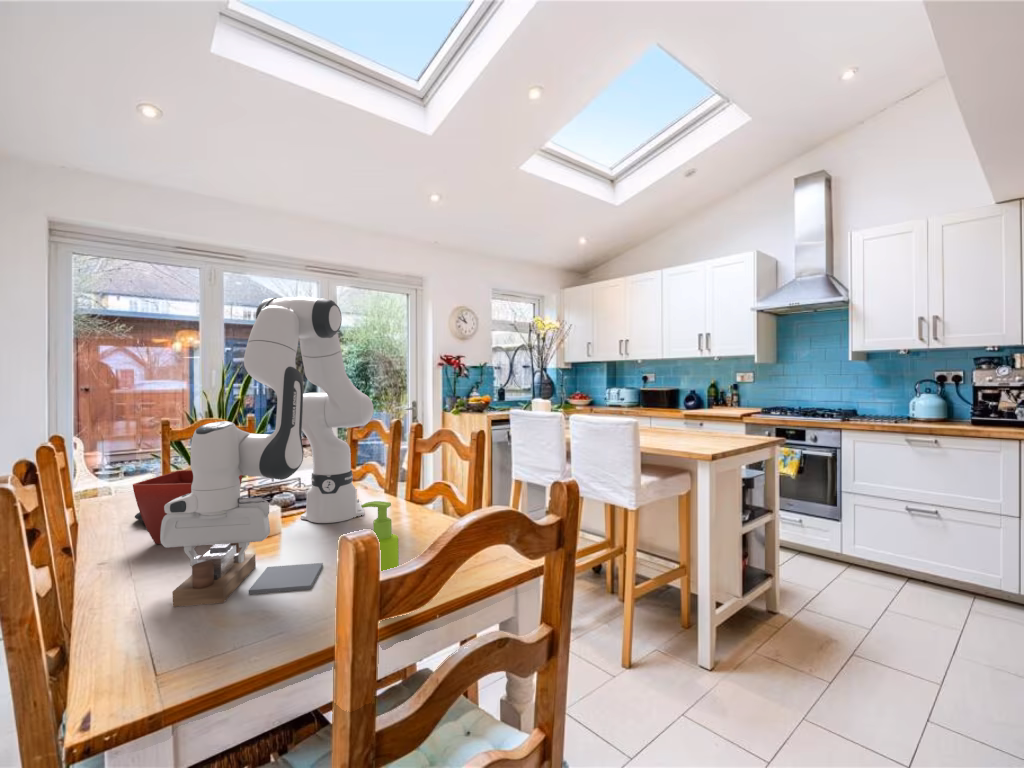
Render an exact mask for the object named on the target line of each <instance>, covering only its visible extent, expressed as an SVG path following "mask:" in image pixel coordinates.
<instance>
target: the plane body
mask: <svg viewBox="0 0 1024 768" xmlns="http://www.w3.org/2000/svg"><path fill="white" fill-rule="evenodd" d="M229 544H231V545H236V553H239V552H240V550H241V549H242V547H241V548H240V547H239V543H229ZM245 552H246V551H245ZM245 552H244V561H243V562H242V563H236V564H235V565H234V566H233V567H232V568H231V569H230V570H229V571H228V572H227V573H226V574H225V575H224V576H223V577H222V578H218V574H214V563H213V562H212V561H205V562H200V563H197V564H194V565H193V566H191V575H190V576H189V577H187V578H186V579H185V580H184V581H183V582H182V583H181V584H179V585H178V586H177V587H176V588H175V589H173V591H172V607H174V608H176V607H177V606H179V607H187V606H200V605H213V604H224V603H225V602H226V601H227V599H229V597H230V596H231V595H232V594H233V593H234V592H235V590H236V589H238V587H239V586H240V585H241V584H242V583H243V581H244V580H246V578H247V577H248V576H249V574H250V573H251V572H252V571H253V570H254V569H255V568H256V565H257V564H256V562H257V561H256V553H245Z"/></svg>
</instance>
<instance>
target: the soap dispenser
mask: <svg viewBox="0 0 1024 768" xmlns="http://www.w3.org/2000/svg"><path fill="white" fill-rule="evenodd" d="M391 506H392V502H389V501H388V502H387V501H380V500H379V501H378V500H375V501H373V500H372V501H368V502H365V503H363V504H362V505H361V507H362V508H363V509H364V508H377V517H376V518H375V519H374V520H373V526H372V527H373V528H372V531H374V532H375V533H376V535H377V537H378V539H379V542H380V550H381V571H383V570H387V569H390V568H394V567H397V566H399V567H400V564H399V559H400V558H399V554H400V553H399V535H397V534H395V533H392V529H393V528H392V526H393V525H392V519H391V518H390V517H389V516H388V508H389V507H391Z"/></svg>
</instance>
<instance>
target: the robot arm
mask: <svg viewBox="0 0 1024 768" xmlns="http://www.w3.org/2000/svg"><path fill="white" fill-rule="evenodd" d="M341 325H342V313H341V309H340V307H339V306H338V304H337V303H336V302H335V301H334V300H331V299H329V298H324V297H320V298H319V297H318V298H317V297H316V298H315V297H309V296H296V297H281V298H278V297H271V298H266V299H264V300H263V301H261V302H260V304H259V305H258V306H257V308H256V312H255V321H254V324H253V326H252V328H251V330H250V334H249V336H248V339H247V344H246V347H245V351H244V355H243V356H244V357H243V365H244V368H245V370H246V373H247V374H248V375H249V376H250V377H251V378H252V379H254V381H257V383H260V384H261V385H264V386H266V387H268V388H270V389H272V391H274V393H275V395H276V398H277V399H276V400H277V402H276V403H277V404H276V416H275V417H276V418H275V429H274V431H273V432H272V433H271V434H269V433H268V434H267V433H252V432H251V433H250V432H248V431H245V430H242V429H240V428H239V427H238V426H236V424H235V423H234V422H232V421H225V420H224V421H215V422H208V423H206V424H203V425H200V426H198V427H196V429H195V430H194V433H193V435H192V438H191V443H190V444H191V445H190V470H192V472H193V482H192V485H191V493H188V494H186V495H183V496H180V497H178V498H176V499H174V500H172V501H170V502H168V503H167V504H165V506H164V510H165V513H167V515H165V516H164V518H163V520H162V524H161V534H160V540H161V544H160V545H162V546H163V547H164V548H180V547H183V551H184V553H185V554H186V556H187V558H189V559H190V562H189V563H190V566H191V567H192V566H193V565H194V564H197V560H198V559H199V558H201V557H202V556H203V555H202V554H201V555H200V554H199V555H198V553H197V551H196V550H195V548H196V547H197V546H210V545H211V546H213V545H215V544H229V543H239V547H240V548H241V547H242V549H241V550H240V552H239V553H236V554H235V555H234V563H242V562H243V561H244V552H246V551H247V549H248V547H249V546H250V543H256V542H258V543H260V542H263V541H264V540H266V539H267V537H268V536H269V535H270V534H271V527H270V518H269V514H270V503H269V501H268V500H267V499H265V498H263V497H259V496H257V497H241V486H240V479H239V476H240V475H242V476H246V477H257V478H259V477H261V478H262V477H263V478H266V479H267V478H268V479H273V480H280V481H281V480H285V479H288V478H290V477H291V476H292V475H294V474H295V473H296V472H297V471H298V470H299V469H300V467H301V465H302V463H303V461H304V447H303V440H302V439H303V437H302V435H303V434H304V435H305V436H306V438H307V440H308V442H309V445H310V449H311V456H312V458H311V459H312V473H311V478H310V479H311V485H312V486H311V488H310V489H309V490H307V491H306V501H305V502H306V504H305V505H306V506H305V507H306V509H305V512H304V513H302V514H301V515H300V519H301V520H307V521H309V522H311V523H318V524H333V523H340V522H344V521H348V520H351V519H353V517H354V518H356V516H358V517H361V515H362V516H364V515H365V511H364V508H362V507H361V505H363V504H362V501H360V499H359V498H358V494H357V490H358V489H356V487H355V485H354V484H353V481H354V479H353V476H354V474H353V470H352V464H351V463H352V461H351V454H352V453H351V447H350V445H349V443H347V442H346V441H345V440H343V439H341V438H339V437H337V436H336V435H335V433H334V431H333V428H338V429H339V428H341V429H342V428H343V429H344V428H357V427H361V426H365V425H367V424H369V422H370V421H371V419H372V418H373V415H374V409H375V407H374V404H373V401H372V400H371V398H370V397H369V396H368V395H367V394H365V393H364V392H362V391H360V390H359V389H358V388H357V387H356V386H355V385H354V383H353V382H352V381H351V380H350V378H349V376H348V373H347V372H346V368H345V363H344V359H343V354H342V348H341V342H340V338H339V334H338V332H339V331H340V330H341V329H340V328H341ZM298 347H300V353H301V357H302V358H301V359H302V364H303V370H304V375H305V377H306V379H307V380H308V381H309V382H310V384H312V385H314V386H317V387H318V388H320V389H321V390H322V391H323V392H307V393H304V380H303V376H302V373H301V371H299V370H298V369H297V365H296V359H297V357H296V356H297V353H298Z"/></svg>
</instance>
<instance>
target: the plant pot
mask: <svg viewBox="0 0 1024 768" xmlns="http://www.w3.org/2000/svg"><path fill="white" fill-rule="evenodd" d="M239 479H240V487H241V485H242V481H243V475H240V476H239ZM192 482H193V472H192V470H191V469H184V470H181V469H180V470H176V471H172V472H170V473H165V474H163V475H158V476H155V477H153V478H149V479H146V480H142V481H138V482H135V483H133V484H132V489H133V495H134V498H135V501H136V502H135V503H136V505H137V507H138V512H140V514H141V517H142V519H143V521H142V522H143V524H144V526H145V528H146V529H147V532H148V534H149V537H151V539H152V541H153V543H154V544H157V545H162V544H161V540H160V534H161V524H162V520H163V518H164V516H165V515H167V513H165V510H164V506H165V504H167V503H168V502H170V501H172V500H174V499H176V498H178V497H180V496H183V495H186V494H188V493H191V485H192Z"/></svg>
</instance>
